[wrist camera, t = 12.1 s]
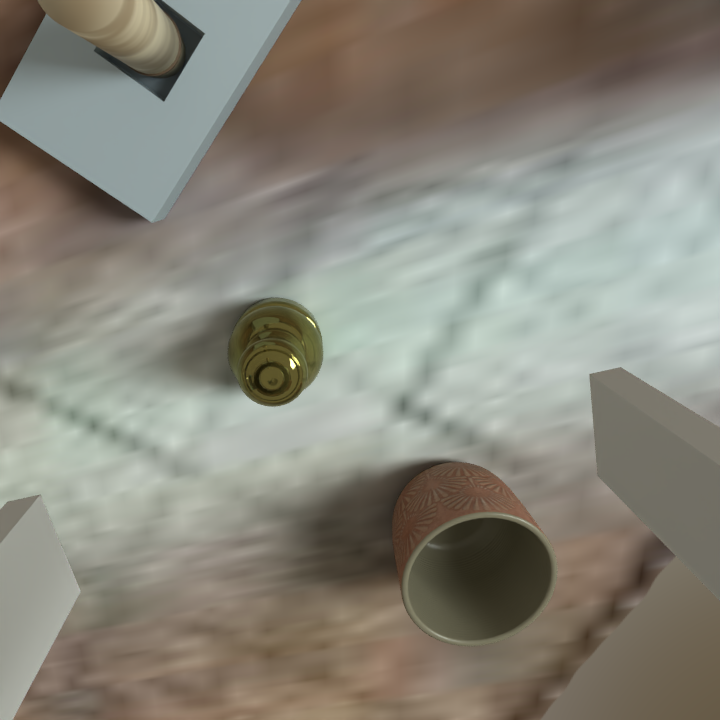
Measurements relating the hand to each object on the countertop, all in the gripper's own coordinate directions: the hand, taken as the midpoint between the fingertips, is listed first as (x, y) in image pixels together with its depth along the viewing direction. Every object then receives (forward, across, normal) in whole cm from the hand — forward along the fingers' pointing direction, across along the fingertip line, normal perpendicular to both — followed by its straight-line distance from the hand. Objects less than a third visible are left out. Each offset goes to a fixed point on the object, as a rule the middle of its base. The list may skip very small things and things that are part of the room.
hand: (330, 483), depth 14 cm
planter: (+36, +8, -25) cm, 45 cm away
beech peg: (+35, -7, +17) cm, 40 cm away
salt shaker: (+36, -4, -6) cm, 37 cm away
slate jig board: (+36, -7, +17) cm, 41 cm away
